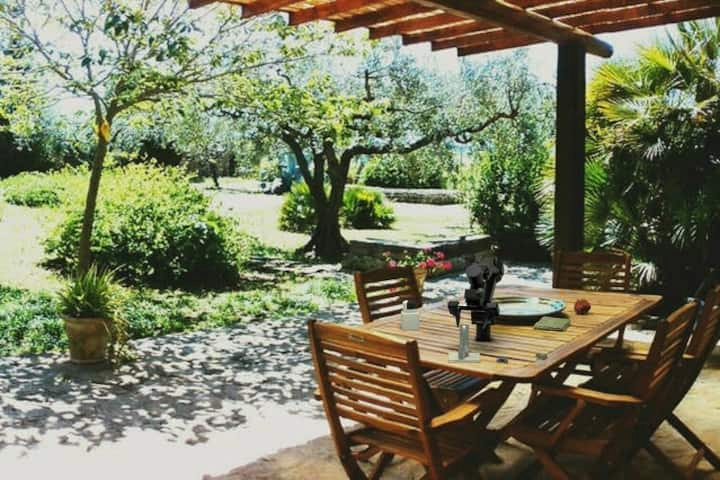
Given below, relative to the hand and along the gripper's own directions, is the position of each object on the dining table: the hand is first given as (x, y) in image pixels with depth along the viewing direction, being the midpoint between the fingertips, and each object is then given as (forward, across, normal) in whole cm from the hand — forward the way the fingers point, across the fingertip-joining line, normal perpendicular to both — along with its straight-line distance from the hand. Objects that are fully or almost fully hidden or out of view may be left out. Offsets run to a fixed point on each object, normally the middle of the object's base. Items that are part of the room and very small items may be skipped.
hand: (469, 327), depth 263 cm
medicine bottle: (-17, -34, +31) cm, 49 cm away
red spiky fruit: (-54, +32, +68) cm, 92 cm away
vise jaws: (+10, +20, +3) cm, 22 cm away
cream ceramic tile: (+13, 0, 0) cm, 13 cm away
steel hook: (+13, 0, -1) cm, 13 cm away
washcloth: (-31, +22, +46) cm, 60 cm away
